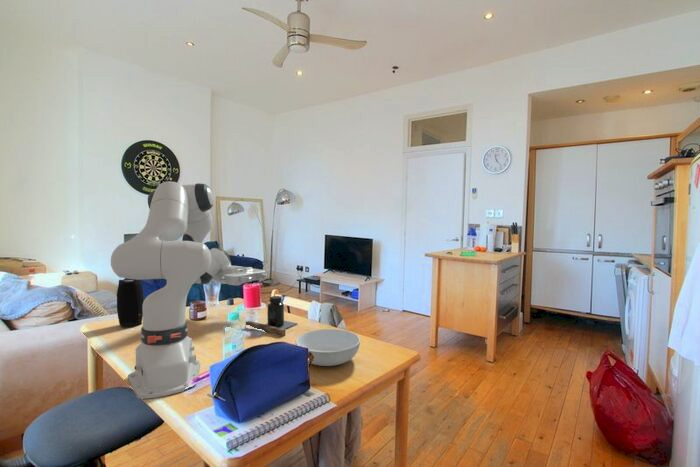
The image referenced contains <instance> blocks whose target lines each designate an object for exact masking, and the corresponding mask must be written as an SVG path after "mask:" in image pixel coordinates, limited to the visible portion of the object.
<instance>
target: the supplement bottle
mask: <svg viewBox="0 0 700 467" xmlns="http://www.w3.org/2000/svg"><path fill="white" fill-rule="evenodd" d="M266 312H267V314H266V315H267V323H268V325H269V326H273V327H281V326H283V325H284V321H285V305H284V303H283V302H282V296H280V295H272V296H270V297H269V303H268V305H267V311H266Z"/></svg>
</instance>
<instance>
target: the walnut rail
mask: <svg viewBox="0 0 700 467" xmlns="http://www.w3.org/2000/svg"><path fill="white" fill-rule="evenodd" d="M265 324H266V323H264V324H263V323H259V322H257V321H256V322H255V321H251V320H247V321H245V326H246V325H250V326H252V327H254V328H257V329H262V330H264V331H265V332H266V334H271V335H274V336H278V337H283V338H284V337H285V336H286V330H285V329H282V328H278V327H273V326H269V325H265ZM265 332H264V333H265Z"/></svg>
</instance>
